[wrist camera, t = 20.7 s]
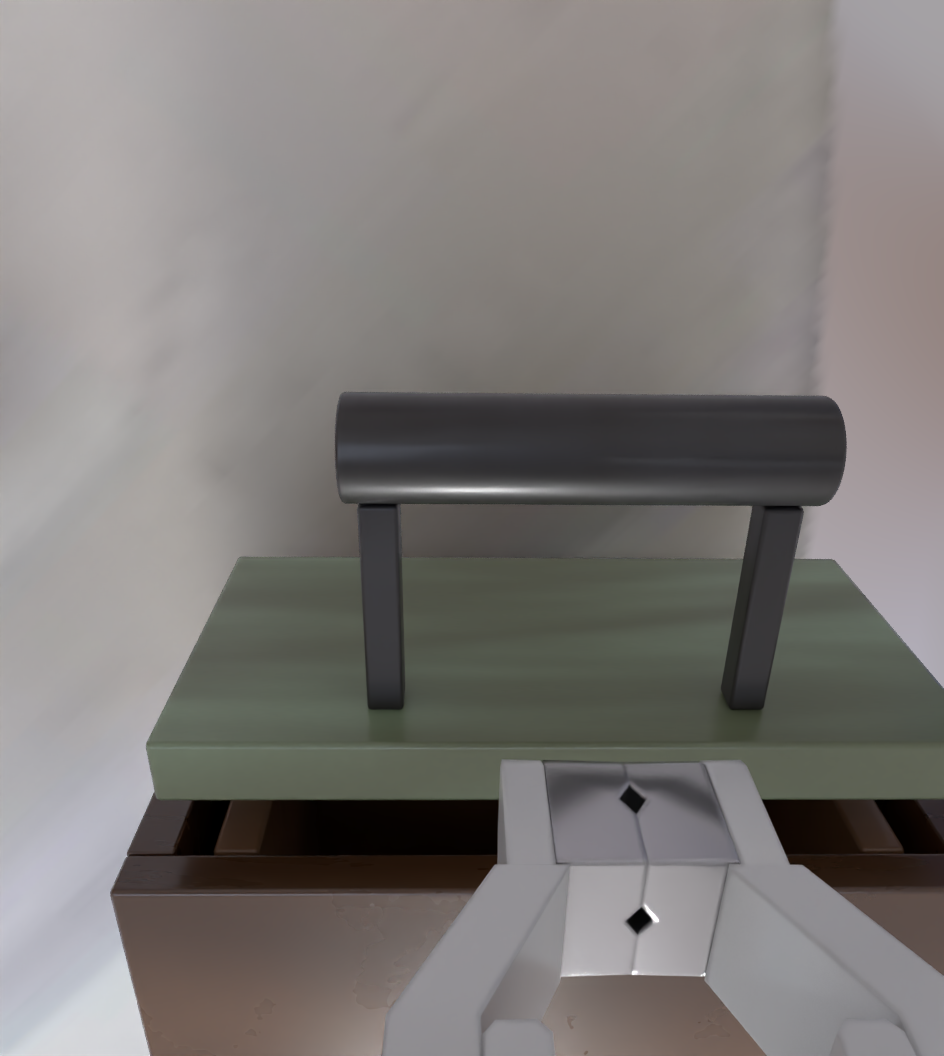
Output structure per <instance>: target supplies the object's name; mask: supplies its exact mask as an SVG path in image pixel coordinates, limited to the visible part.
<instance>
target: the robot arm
mask: <svg viewBox="0 0 944 1056" xmlns="http://www.w3.org/2000/svg"><path fill="white" fill-rule="evenodd" d="M631 974H632V975H663V976H699V977H705V982H706V983H707V984H708V985H709V986H710V988H711V989H712V990H713V991H714V992H715V994H716V995H717V996H718V997H719V998H720V1000H721V1001H722V1002H723V1003H724V1005H725V1006H726V1007H727V1008H728V1009H729V1011H730V1012H731V1013H732V1014H733V1015H734V1017H735V1018H736V1019H737V1020H738V1021H739V1023H740V1024H741V1025H742V1026H743V1027H744V1029H745V1030H746V1031H747V1032H748V1033H749V1035H750V1036H751V1037H752V1038H753V1039H754V1041H755V1042H756V1043H757V1044H758V1045H759V1047H760V1048H761V1049H762V1050H763V1052H764V1053H765V1054H766V1055H767V1056H944V976H943V975H942V974H941V973H939V972H938V971H937V970H936V969H934V968H933V967H932V966H930V965H929V964H928V963H927V962H925V961H924V960H923V959H922V958H920V957H919V956H918V955H917V954H915V953H914V952H913V951H911V950H910V949H909V948H908V947H906V946H905V945H904V944H903V943H901V942H900V941H899V940H897V939H896V938H895V937H894V936H892V935H891V934H890V933H889V932H887V931H886V930H885V929H883V928H882V927H881V926H880V925H878V924H877V923H876V922H875V921H873V920H872V919H871V918H869V917H868V916H867V915H866V914H864V913H863V912H862V911H861V910H859V909H858V908H857V907H856V906H854V905H853V904H852V903H850V902H849V901H848V900H847V899H845V898H844V897H843V896H842V895H840V894H839V893H838V892H836V891H835V890H834V889H833V888H831V887H830V886H829V885H828V884H826V883H825V882H824V881H822V880H821V879H820V878H819V877H817V876H816V875H815V874H814V873H812V872H811V871H810V870H809V869H807V868H806V867H805V866H803V865H790V863H789V861H788V859H787V857H786V854H785V852H784V850H783V847H782V845H781V843H780V841H779V838H778V836H777V834H776V831H775V829H774V827H773V825H772V822H771V820H770V818H769V815H768V813H767V811H766V809H765V806H764V804H763V802H762V799H761V797H760V795H759V793H758V790H757V788H756V786H755V783H754V781H753V779H752V777H751V774H750V772H749V770H748V767H747V765H745V764H744V763H743V762H742V761H741V760H705V761H700V762H698V761H627V762H612V761H574V760H543V761H542V762H541V761H540V760H507V759H502V761H501V765H500V784H499V810H498V858H497V864H496V865H494V866H493V868H492V869H491V870H490V872H489V873H488V874H487V876H486V877H485V879H484V880H483V881H482V883H481V884H480V886H479V887H478V888H477V890H476V891H475V892H474V894H473V895H472V897H471V898H470V899H469V901H468V902H467V904H466V905H465V906H464V908H463V909H462V910H461V912H460V913H459V915H458V916H457V917H456V919H455V920H454V921H453V923H452V924H451V926H450V927H449V928H448V930H447V931H446V933H445V934H444V935H443V937H442V938H441V939H440V941H439V942H438V944H437V945H436V946H435V948H434V949H433V951H432V952H431V953H430V955H429V956H428V957H427V959H426V960H425V962H424V963H423V964H422V966H421V967H420V968H419V970H418V971H417V973H416V974H415V975H414V977H413V978H412V980H411V981H410V982H409V984H408V985H407V986H406V988H405V989H404V991H403V992H402V993H401V995H400V996H399V998H398V999H397V1000H396V1002H395V1003H394V1004H393V1006H392V1007H391V1009H390V1010H389V1011H388V1013H387V1014H386V1018H385V1029H384V1040H383V1051H382V1056H555V1048H554V1038H553V1032H552V1031H551V1030H550V1029H549V1028H547V1027H546V1026H545V1025H544V1024H542V1023H541V1020H542V1018H543V1016H544V1014H545V1012H546V1010H547V1007H548V1005H549V1003H550V1001H551V999H552V997H553V995H554V993H555V991H556V989H557V987H558V985H559V983H560V977H568V976H601V975H631Z"/></svg>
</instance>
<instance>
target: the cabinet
mask: <svg viewBox="0 0 944 1056" xmlns="http://www.w3.org/2000/svg"><path fill="white" fill-rule="evenodd" d="M875 802H876V804H877V805H878V807H879V809H880V810H881V812H882V814H883V815H884V817H885V819H886V820H887V822H888V823H889V825H890V827H891V828H892V830H893V832H894V833H895V835H896V837H897V838H898V840H899V842H900V843H901V845H902V846H903V849H904V854H786V857H787V859H788V861H789V863H790V865H803V866H805V867H806V868H807V869H809V870H810V871H811V872H812V873H814V874H815V875H816V876H817V877H819V878H820V879H821V880H822V881H824V882H825V883H826V884H828V885H829V886H830V887H831V888H833V889H834V890H835V891H836V892H838V893H839V894H840V895H842V896H843V897H844V898H845V899H847V900H848V901H849V902H850V903H852V904H853V905H854V906H856V907H857V908H858V909H859V910H861V911H862V912H863V913H864V914H866V915H867V916H868V917H869V918H871V919H872V920H873V921H875V922H876V923H877V924H878V925H880V926H881V927H882V928H883V929H885V930H886V931H887V932H889V933H890V934H891V935H892V936H894V937H895V938H896V939H897V940H899V941H900V942H901V943H903V944H904V945H905V946H906V947H908V948H909V949H910V950H911V951H913V952H914V953H915V954H917V955H918V956H919V957H920V958H922V959H923V960H924V961H925V962H927V963H928V964H929V965H930V966H932V967H933V968H934V969H936V970H937V971H938V972H939V973H941V974H942V975H943V976H944V800H875ZM229 803H230V800H158V799H157V798H156V795H155V792H154V794H153V796H152V798H151V801H150V803H149V805H148V807H147V809H146V812H145V814H144V816H143V818H142V820H141V823H140V825H139V827H138V829H137V832H136V834H135V836H134V838H133V840H132V843H131V845H130V847H129V849H128V852H127V856H128V857H126V858H125V860H124V863H123V865H122V867H121V869H120V872H119V874H118V876H117V878H116V880H115V883H114V885H113V887H112V889H111V892H110V894H111V900H112V904H113V908H114V912H115V916H116V920H117V924H118V928H119V932H120V936H121V940H122V944H123V948H124V952H125V956H126V960H127V964H128V968H129V972H130V976H131V980H132V984H133V988H134V992H135V996H136V1000H137V1004H138V1008H139V1012H140V1016H141V1020H142V1024H143V1028H144V1032H145V1036H146V1040H147V1044H148V1048H149V1052H150V1056H382V1051H383V1040H384V1029H385V1018H386V1014H387V1013H388V1011H389V1010H390V1009H391V1007H392V1006H393V1004H394V1003H395V1002H396V1000H397V999H398V998H399V996H400V995H401V993H402V992H403V991H404V989H405V988H406V986H407V985H408V984H409V982H410V981H411V980H412V978H413V977H414V975H415V974H416V973H417V971H418V970H419V968H420V967H421V966H422V964H423V963H424V962H425V960H426V959H427V957H428V956H429V955H430V953H431V952H432V951H433V949H434V948H435V946H436V945H437V944H438V942H439V941H440V939H441V938H442V937H443V935H444V934H445V933H446V931H447V930H448V928H449V927H450V926H451V924H452V923H453V921H454V920H455V919H456V917H457V916H458V915H459V913H460V912H461V910H462V909H463V908H464V906H465V905H466V904H467V902H468V901H469V899H470V898H471V897H472V895H473V894H474V892H475V891H476V890H477V888H478V887H479V886H480V884H481V883H482V881H483V880H484V879H485V877H486V876H487V874H488V873H489V872H490V870H491V869H492V868H493V866H494V865H496V864H497V858H498V855H214V852H213V851H214V848H215V845H216V842H217V839H218V836H219V833H220V830H221V827H222V824H223V821H224V818H225V815H226V812H227V809H228V806H229ZM541 1023H542V1024H544V1025H545V1026H546V1027H547V1028H549V1029H550V1030H551V1031H552V1032H553V1038H554V1048H555V1056H767V1055H766V1054H765V1053H764V1052H763V1050H762V1049H761V1048H760V1047H759V1045H758V1044H757V1043H756V1042H755V1041H754V1039H753V1038H752V1037H751V1036H750V1035H749V1033H748V1032H747V1031H746V1030H745V1029H744V1027H743V1026H742V1025H741V1024H740V1023H739V1021H738V1020H737V1019H736V1018H735V1017H734V1015H733V1014H732V1013H731V1012H730V1011H729V1009H728V1008H727V1007H726V1006H725V1005H724V1003H723V1002H722V1001H721V1000H720V998H719V997H718V996H717V995H716V994H715V992H714V991H713V990H712V989H711V988H710V986H709V985H708V984H707V983H706V982H705V977H699V976H663V975H632V974H631V975H601V976H568V977H560V983H559V985H558V987H557V989H556V991H555V993H554V995H553V997H552V999H551V1001H550V1003H549V1005H548V1007H547V1010H546V1012H545V1014H544V1016H543V1018H542V1020H541Z"/></svg>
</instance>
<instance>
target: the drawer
mask: <svg viewBox="0 0 944 1056" xmlns="http://www.w3.org/2000/svg"><path fill="white" fill-rule="evenodd" d="M845 461H846V431H845V425H844V420H843V417H842V414H841V411H840V409H839V407H838V405H837V404H836V403H835V402H834V401H833V400H832V399H830V398H829V397H826V396H772V395H647V394H523V393H398V392H344V393H342V394H341V395H340V398H339V401H338V405H337V412H336V424H335V467H336V479H337V486H338V492H339V495H340V498H341V501H342V502H344V503H359V505H358V509H357V514H358V533H359V552H360V557H240V558H238V560H237V562H236V564H235V566H234V568H233V570H232V572H231V574H230V576H229V578H228V580H227V582H226V584H225V586H224V588H223V590H222V592H221V594H220V596H219V598H218V600H217V602H216V604H215V606H214V608H213V610H212V612H211V614H210V616H209V618H208V620H207V622H206V624H205V626H204V628H203V631H202V633H201V635H200V637H199V639H198V641H197V643H196V645H195V647H194V649H193V651H192V653H191V655H190V657H189V659H188V661H187V663H186V665H185V667H184V669H183V671H182V673H181V675H180V677H179V679H178V681H177V683H176V685H175V687H174V689H173V691H172V693H171V695H170V697H169V699H168V701H167V703H166V705H165V707H164V709H163V711H162V713H161V715H160V717H159V719H158V721H157V723H156V725H155V727H154V729H153V731H152V733H151V735H150V737H149V739H148V741H147V743H146V750H147V755H148V760H149V765H150V770H151V775H152V780H153V785H154V790H155V795H156V798H157V799H158V800H230V803H229V806H228V809H227V812H226V815H225V818H224V821H223V824H222V827H221V830H220V833H219V836H218V839H217V842H216V845H215V848H214V851H213V852H214V855H498V810H499V784H500V765H501V761H502V759H507V760H540V761H541V762H542V761H543V760H574V761H612V762H627V761H698V762H700V761H705V760H741V761H742V762H743V763H744V764H745V765H747V767H748V770H749V772H750V774H751V777H752V779H753V781H754V783H755V786H756V788H757V790H758V793H759V795H760V797H761V799H762V802H763V804H764V806H765V809H766V811H767V813H768V815H769V818H770V820H771V822H772V825H773V827H774V829H775V831H776V834H777V836H778V838H779V841H780V843H781V845H782V847H783V850H784V852H785V854H904V849H903V846H902V845H901V843H900V842H899V840H898V838H897V837H896V835H895V833H894V832H893V830H892V828H891V827H890V825H889V823H888V822H887V820H886V819H885V817H884V815H883V814H882V812H881V810H880V809H879V807H878V805H877V804H876V802H875V800H944V688H943V687H942V686H941V685H940V683H939V682H938V681H937V680H936V679H935V678H934V677H933V675H932V674H931V673H930V672H929V671H928V669H927V668H926V667H925V666H924V665H923V663H922V662H921V661H920V660H919V659H918V658H917V657H916V655H915V654H914V653H913V652H912V651H911V650H910V648H909V647H908V646H907V645H906V643H905V642H904V641H903V640H902V639H901V638H900V636H899V635H898V634H897V633H896V632H895V631H894V629H893V628H892V627H891V626H890V625H889V624H888V622H887V621H886V620H885V619H884V618H883V616H882V615H881V614H880V613H879V612H878V611H877V609H876V608H875V607H874V606H873V605H872V604H871V602H870V601H869V600H868V599H867V598H866V596H865V595H864V594H863V593H862V592H861V591H860V589H859V588H858V587H857V586H856V585H855V584H854V582H853V581H852V580H851V579H850V578H849V577H848V575H847V574H846V573H845V572H844V571H843V570H842V568H841V567H840V566H839V565H838V564H837V563H836V561H835V560H832V559H794V557H795V552H796V548H797V543H798V538H799V533H800V528H801V523H802V518H803V513H804V512H803V508H802V507H801V506H821V505H824V504H826V503H828V502H829V501H830V500H831V499H832V498H833V496H834V495H835V493H836V491H837V490H838V488H839V485H840V482H841V479H842V476H843V472H844V467H845ZM400 504H541V505H721V506H753V507H752V513H751V518H750V524H749V530H748V535H747V541H746V547H745V553H744V558H743V559H655V558H426V557H402V544H401V507H400Z"/></svg>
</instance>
